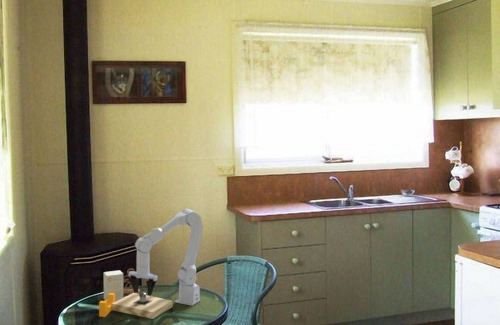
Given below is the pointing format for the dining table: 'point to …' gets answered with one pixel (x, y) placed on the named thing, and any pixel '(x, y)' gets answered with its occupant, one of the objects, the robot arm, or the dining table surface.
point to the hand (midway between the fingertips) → (142, 293)
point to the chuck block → (142, 306)
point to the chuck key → (143, 297)
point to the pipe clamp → (106, 305)
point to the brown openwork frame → (127, 290)
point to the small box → (113, 284)
